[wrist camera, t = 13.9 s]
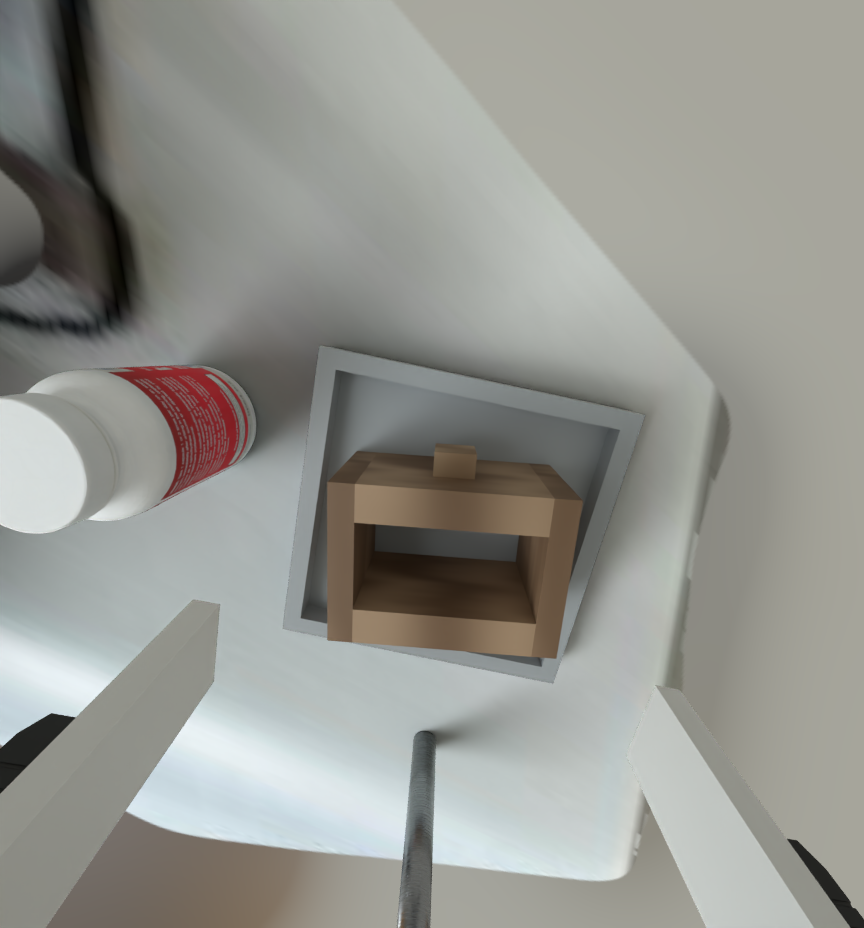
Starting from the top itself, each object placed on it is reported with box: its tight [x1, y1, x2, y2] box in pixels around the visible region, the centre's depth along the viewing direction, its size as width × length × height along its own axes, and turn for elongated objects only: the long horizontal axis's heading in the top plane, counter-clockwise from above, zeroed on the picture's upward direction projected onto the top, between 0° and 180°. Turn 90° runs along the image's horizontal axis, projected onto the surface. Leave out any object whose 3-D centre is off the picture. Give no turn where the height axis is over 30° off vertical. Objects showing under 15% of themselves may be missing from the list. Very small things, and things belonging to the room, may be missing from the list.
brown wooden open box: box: [327, 443, 583, 659], centre depth 21 cm, size 11×9×6 cm
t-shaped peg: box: [397, 731, 436, 928], centre depth 24 cm, size 6×2×12 cm, turn 78°
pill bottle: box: [0, 365, 256, 534], centre depth 19 cm, size 6×6×11 cm
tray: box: [282, 346, 645, 683], centre depth 24 cm, size 17×17×2 cm
